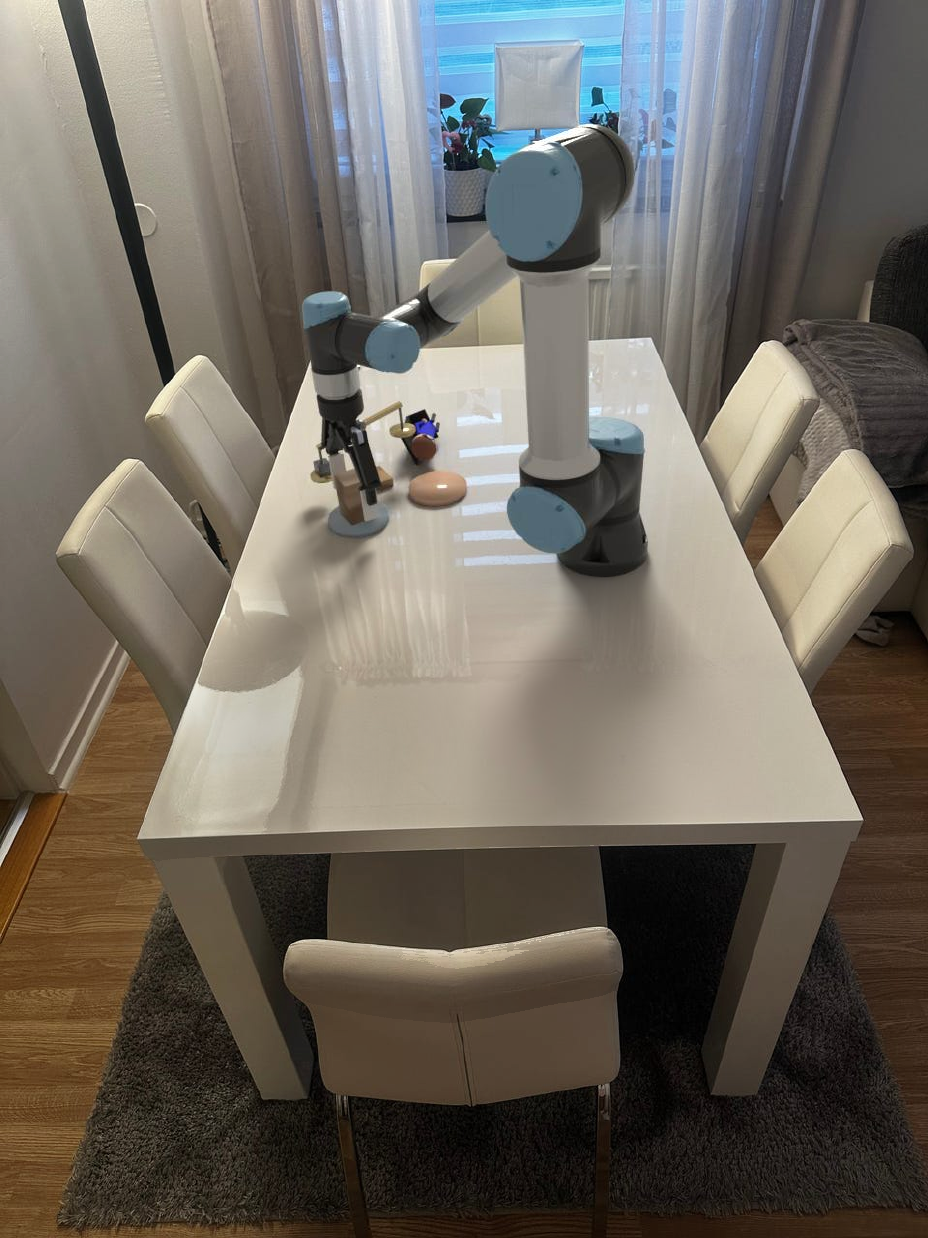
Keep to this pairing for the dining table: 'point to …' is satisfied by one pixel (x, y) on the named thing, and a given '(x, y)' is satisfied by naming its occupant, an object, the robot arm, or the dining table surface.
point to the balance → (399, 430)
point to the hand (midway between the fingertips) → (356, 501)
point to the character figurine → (422, 436)
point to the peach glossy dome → (437, 488)
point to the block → (349, 496)
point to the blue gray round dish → (358, 530)
